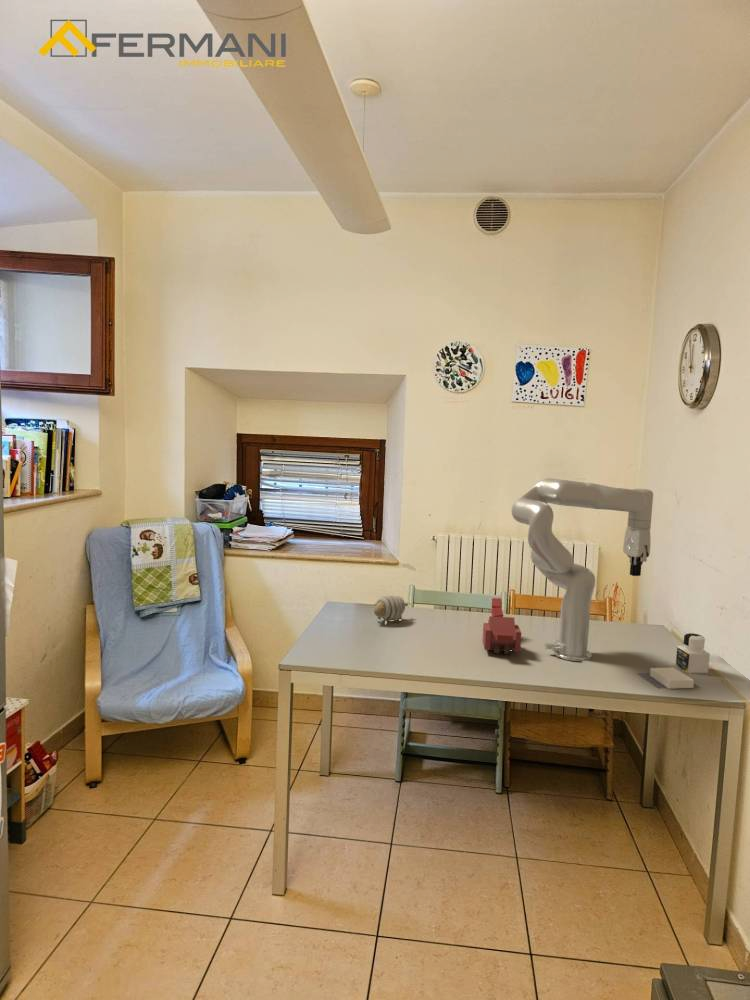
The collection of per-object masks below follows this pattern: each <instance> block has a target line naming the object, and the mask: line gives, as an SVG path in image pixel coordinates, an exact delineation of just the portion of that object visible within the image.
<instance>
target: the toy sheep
mask: <svg viewBox="0 0 750 1000" xmlns="http://www.w3.org/2000/svg"><path fill="white" fill-rule="evenodd" d="M408 605H409V603H408V602H405V600H404V598H403V597H401V596H400V595H398V594H392V593H391V594H389V593H388V594H385V595H383V596H381V597H380V598H378V599H377V601H376V602H375V603H374V606H375V607H374V609H373V614H374V615H375V616H377V617H376V618H378V619H380V620H381V619H382V618H383V619H384V620H383V619H382V620H383V621H388V620H394V621H393V622H395V621H396V619H397V620H398V619H402V617H403V613H404V612H405V609H406V607H408ZM388 622H389V621H388Z"/></svg>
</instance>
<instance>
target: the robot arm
mask: <svg viewBox="0 0 750 1000" xmlns="http://www.w3.org/2000/svg"><path fill="white" fill-rule="evenodd" d="M653 502H654V492H653V491H652V490H651V489H646V488H634V489H629V488H623V487H622V488H621V487H612V486H608V485H603V484H598V483H594V482H593V483H592V482H584V481H582V482H581V481H575V480H566V479H558V478H551V477H547V478H543V479H542V480H540V481H538V482H537V483H535V484H534V485H533V486H532V487H530V488H529V489H528V490H527V491H525V492H524V493H523V494H522V495H520V497H518V498H517V499H516V500H515V501H514V503H513V504H512V507H511V515H512V518H513V520H515V521H516V522H518V523H520V524H523V525H528V527H529V528H528V534H527V543H528V546H529V547H530V549H531V551H530V558H531V562H532V563H533V565H534V566H535V568H537V570H538V571H539V572H540V573H541V574H542V575H543V577H545V578H546V579H547V580H548V581H549V582H551V583H552V584H553V585H555V586H556V587H559V588H561V589H564V590H566V592H565V593H564V595H563V598H562V600H561V605H560V621H559V631H558V632H559V633H558V639H556V640H555V642H553V643H545V644H544V649H545V650H551V651H552V652H553V655H554V656H556V657H558V658H560V659H561V660H562V659H563V660H567V661H572V662H582V661H589V660H590V659H592V657H593V654H592V652H590V651H589V650H588V647H589V634H590V633H589V632H590V631H589V629H590V619H591V616H590V615H591V605H592V597H593V593H594V589H595V587H596V577H595V573H593V571H592V570H591V569H589V568H588V567H585V566H584V565H581V564H578V563H575V562H574V557H573V555H572V553H571V552H570V551H569V549H567V547H566V546H564V545H563V543H562V542H561V541H559V540H558V538H557V537H556V536H555V535H554V533H553V530H552V529H553V522H554V511H553V508H552V506H550V505H549V504H552V505H558V506H563V507H564V506H565V507H575V508H585V509H591V510H592V509H593V510H608V511H616V512H617V511H618V512H626V513H627V512H628V514H627V515H628V516H627V526H626V529H625V533H624V538H623V547H622V552H623V553H624V554H625V555H626V556H627V557H628V558H629V564H630V567H629V575H630V576H633V577H640V576H641V575H642V574H641V573H642V566H643V563H645V562H647V561H648V560H647V558H649V557H650V553H651V527H652V526H651V524H652V516H653V515H652V514H653V513H652V512H653V504H654V503H653Z"/></svg>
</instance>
